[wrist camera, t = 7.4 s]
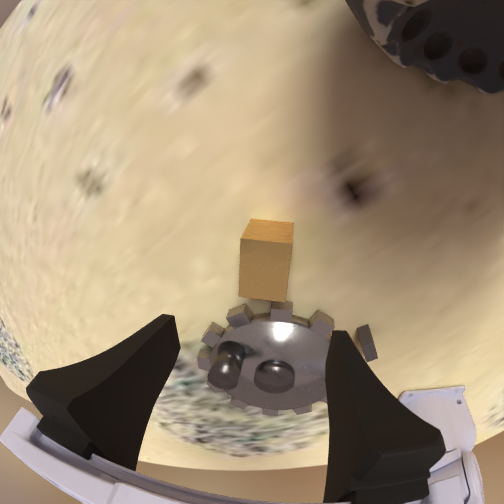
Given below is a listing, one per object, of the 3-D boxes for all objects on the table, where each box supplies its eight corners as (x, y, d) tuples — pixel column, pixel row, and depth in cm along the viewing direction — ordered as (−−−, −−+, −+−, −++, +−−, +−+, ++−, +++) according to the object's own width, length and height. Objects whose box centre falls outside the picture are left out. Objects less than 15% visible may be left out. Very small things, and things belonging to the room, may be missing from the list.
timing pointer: (362, 343, 23) (366, 362, 21) (357, 328, 22) (361, 346, 20) (373, 339, 23) (378, 358, 20) (367, 324, 22) (373, 342, 20)
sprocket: (249, 268, 21) (237, 302, 17) (384, 349, 22) (395, 387, 18) (180, 367, 27) (164, 400, 23) (291, 420, 28) (288, 453, 24)
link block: (251, 218, 20) (240, 238, 16) (293, 222, 20) (292, 243, 16) (248, 268, 22) (238, 296, 18) (287, 273, 21) (285, 302, 18)
